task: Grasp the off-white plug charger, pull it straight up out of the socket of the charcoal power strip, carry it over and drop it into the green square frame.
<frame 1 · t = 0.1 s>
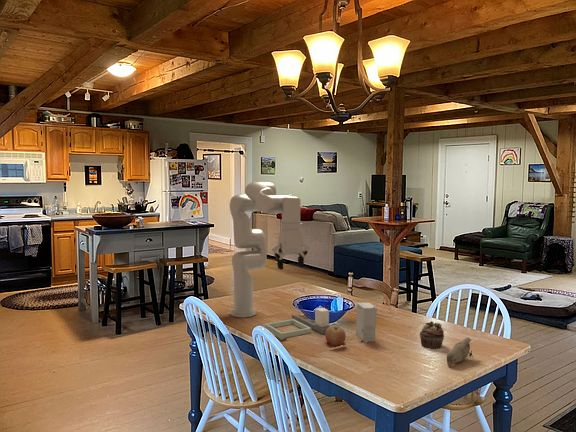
hand: (290, 267, 196), 31 cm above the table, tool pointing down, fingers open, 9 cm apart
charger: (321, 329, 212), point 1 cm above the table, touching power strip
skincare box: (365, 339, 203), on the table
green square frame: (287, 332, 210), on the table
power strip: (314, 327, 217), on the table
fruit: (335, 345, 195), on the table
decorative bird: (458, 362, 179), on the table
cupcake: (431, 346, 195), on the table
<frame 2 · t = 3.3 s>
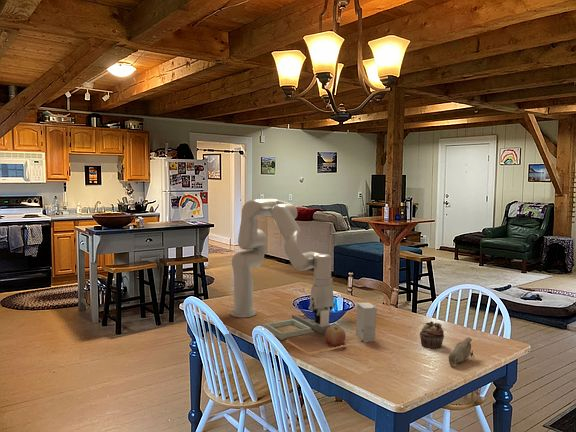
hand: (321, 322, 212), 4 cm above the table, tool pointing down, fingers closed on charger, 3 cm apart
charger: (321, 329, 212), point 1 cm above the table, touching gripper
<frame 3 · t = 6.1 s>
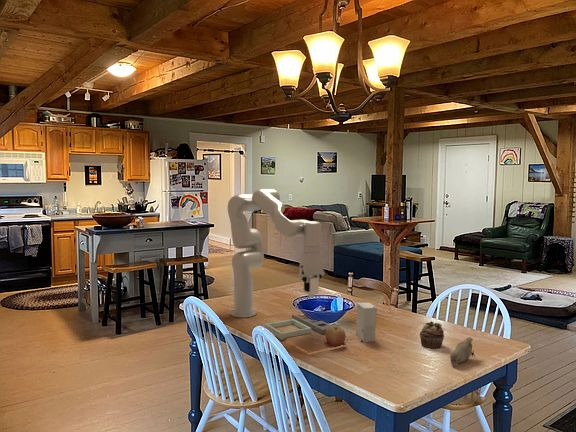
hand: (311, 290, 210), 19 cm above the table, tool pointing down, fingers closed on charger, 4 cm apart
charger: (311, 297, 210), point 16 cm above the table, touching gripper
when the fingers open (7 cm above the table, at t = 9.0 s): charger drops 3 cm, resting on green square frame.
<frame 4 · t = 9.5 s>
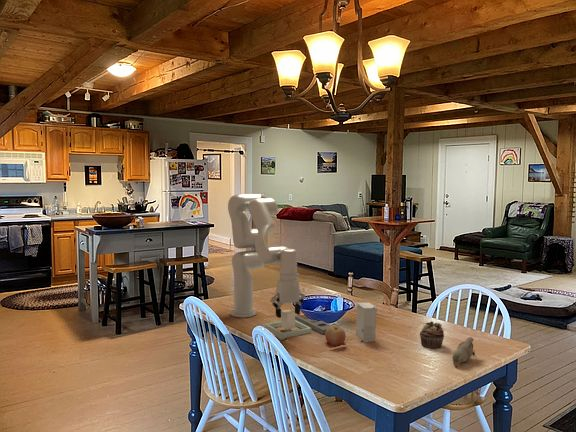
hand: (287, 315, 209), 8 cm above the table, tool pointing down, fingers open, 9 cm apart
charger: (288, 331, 210), resting on green square frame
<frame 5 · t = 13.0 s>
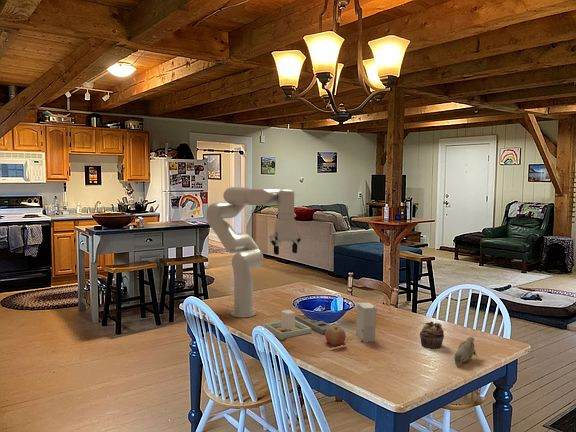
hand: (285, 253, 219), 33 cm above the table, tool pointing down, fingers open, 9 cm apart
at the end: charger inside the target area on the green square frame (0.1 cm from its centre), point 0.4 cm above the green square frame's base; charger touching green square frame; the gripper is holding nothing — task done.
